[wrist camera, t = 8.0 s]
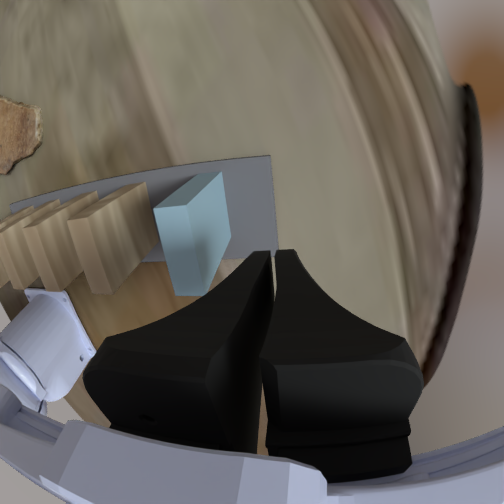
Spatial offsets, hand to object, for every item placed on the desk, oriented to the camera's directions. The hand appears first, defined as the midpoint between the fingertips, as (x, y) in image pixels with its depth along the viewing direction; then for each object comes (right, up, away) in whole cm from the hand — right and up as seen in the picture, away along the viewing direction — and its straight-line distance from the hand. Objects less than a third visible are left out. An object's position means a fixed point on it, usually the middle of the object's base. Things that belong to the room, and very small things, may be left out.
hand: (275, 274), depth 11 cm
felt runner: (-12, +3, +11) cm, 16 cm away
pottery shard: (-26, +13, +8) cm, 30 cm away
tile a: (-9, +4, +9) cm, 13 cm away
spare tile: (-3, +4, +9) cm, 10 cm away
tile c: (-18, +3, +11) cm, 21 cm away
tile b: (-13, +3, +10) cm, 17 cm away
